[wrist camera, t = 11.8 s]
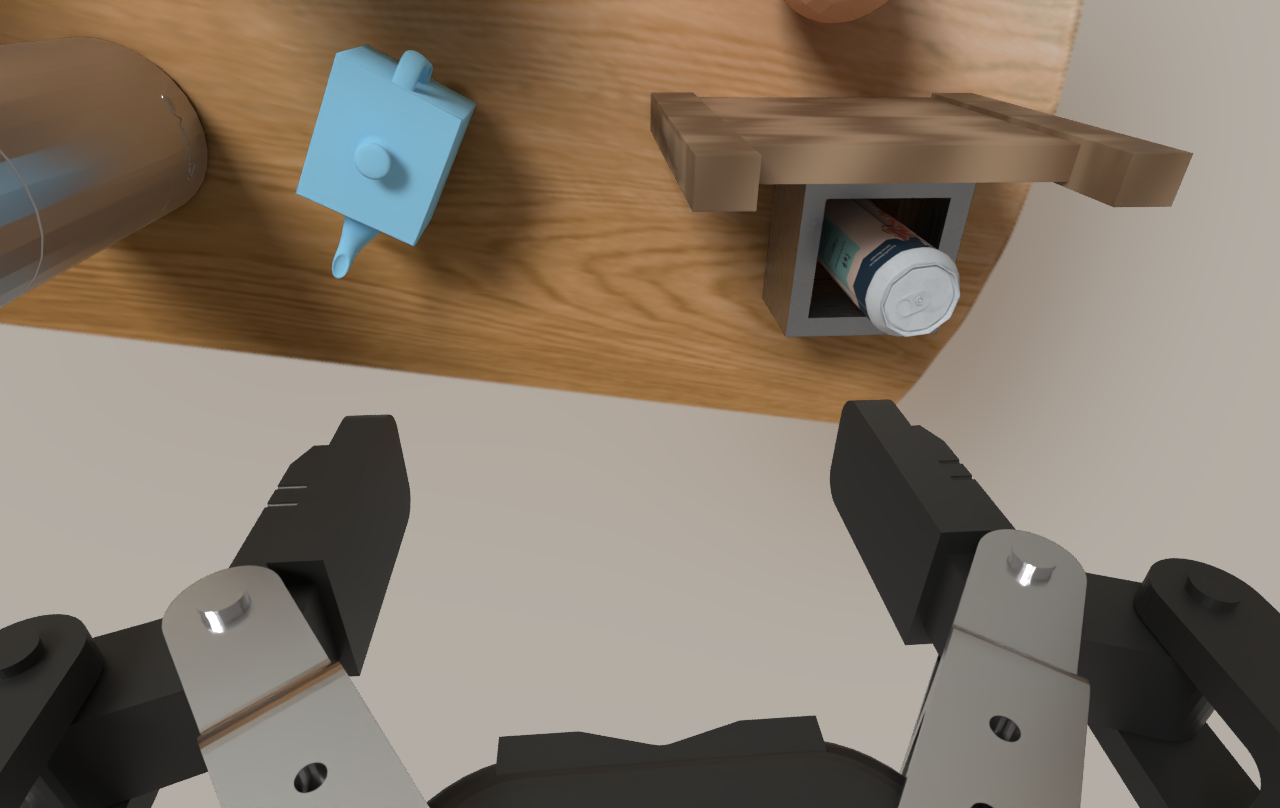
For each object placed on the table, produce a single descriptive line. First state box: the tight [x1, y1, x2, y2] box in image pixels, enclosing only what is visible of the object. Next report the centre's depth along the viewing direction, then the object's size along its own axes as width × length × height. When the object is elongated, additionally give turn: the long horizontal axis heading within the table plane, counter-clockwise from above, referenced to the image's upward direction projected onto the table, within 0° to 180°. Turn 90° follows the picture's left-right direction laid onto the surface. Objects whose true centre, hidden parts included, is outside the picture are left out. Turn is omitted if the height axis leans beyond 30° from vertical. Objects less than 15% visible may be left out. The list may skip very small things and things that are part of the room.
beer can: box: [817, 198, 960, 337], centre depth 39 cm, size 5×5×12 cm
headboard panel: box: [650, 93, 1193, 212], centre depth 33 cm, size 19×2×17 cm, turn 89°
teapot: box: [296, 45, 477, 279], centre depth 36 cm, size 12×6×8 cm, turn 152°
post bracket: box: [762, 183, 976, 337], centre depth 41 cm, size 9×9×6 cm
